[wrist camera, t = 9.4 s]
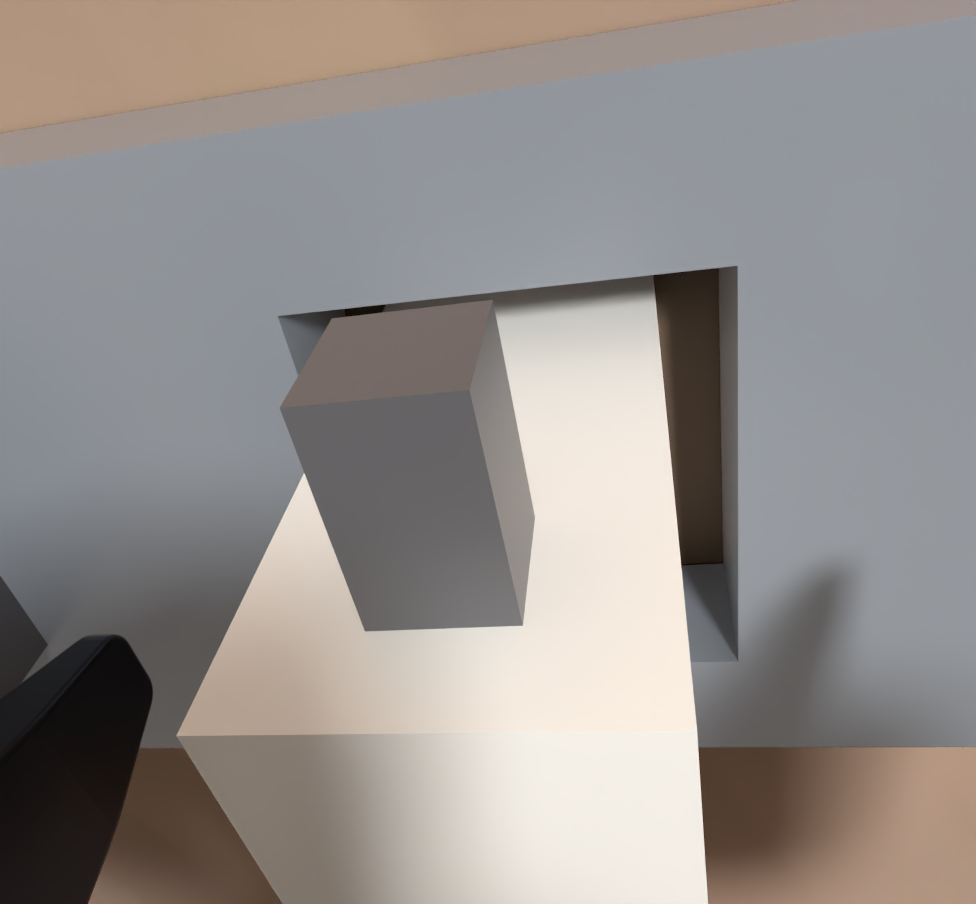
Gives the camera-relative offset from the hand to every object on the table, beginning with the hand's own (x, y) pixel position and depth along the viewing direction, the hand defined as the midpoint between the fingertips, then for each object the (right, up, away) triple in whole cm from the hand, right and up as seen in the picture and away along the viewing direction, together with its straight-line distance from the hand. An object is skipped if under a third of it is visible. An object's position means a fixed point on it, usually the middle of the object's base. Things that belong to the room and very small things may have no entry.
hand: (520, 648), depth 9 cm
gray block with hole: (-4, +2, +4) cm, 7 cm away
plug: (0, +3, +3) cm, 4 cm away
